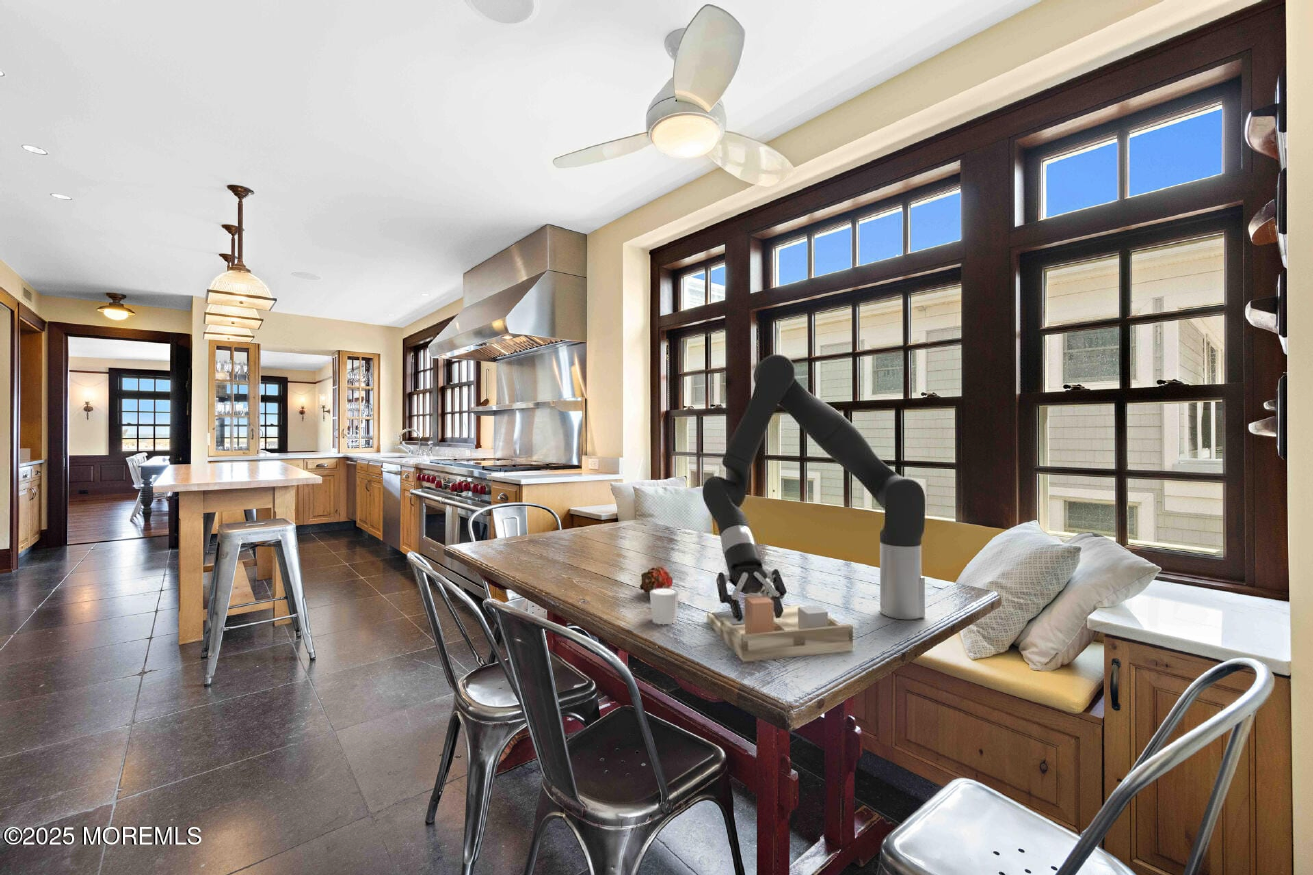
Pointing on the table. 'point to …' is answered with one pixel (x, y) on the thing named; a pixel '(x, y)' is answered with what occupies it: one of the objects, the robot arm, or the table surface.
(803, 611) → the grey block
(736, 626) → the wooden divided tray
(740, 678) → the table surface
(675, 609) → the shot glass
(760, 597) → the terracotta block
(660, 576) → the dragon fruit
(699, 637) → the table surface
